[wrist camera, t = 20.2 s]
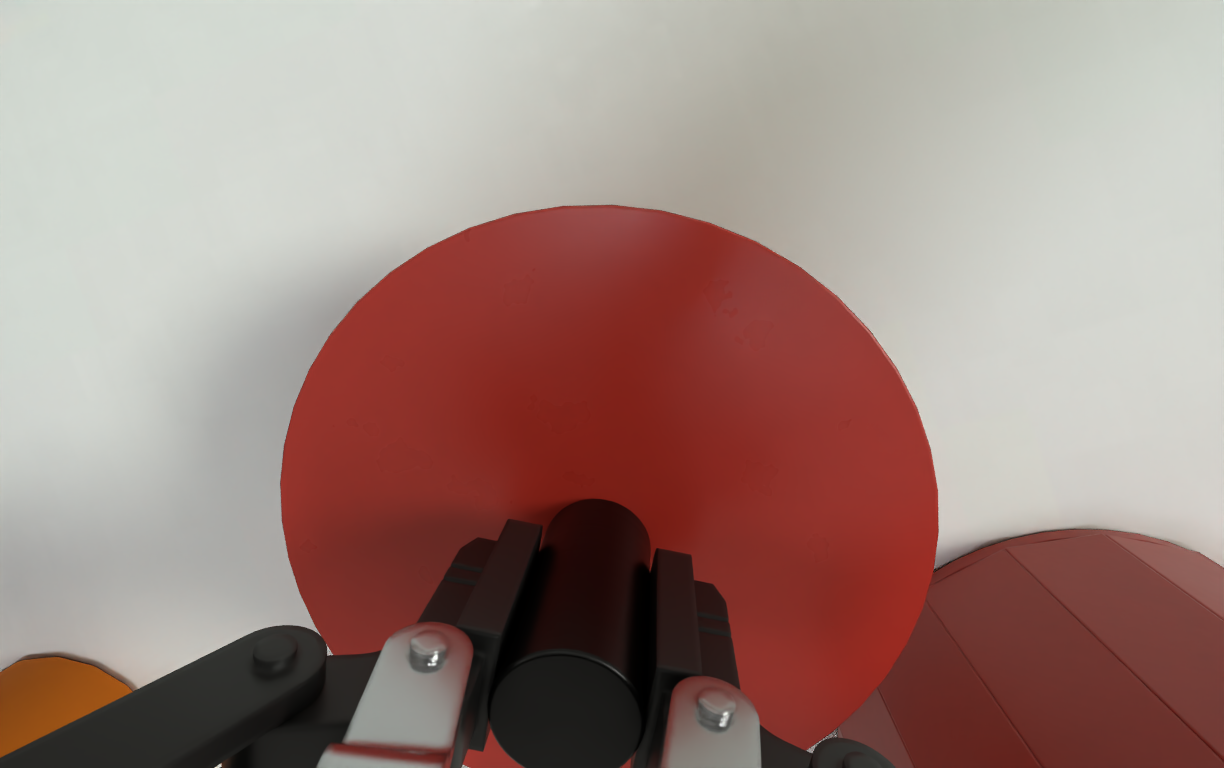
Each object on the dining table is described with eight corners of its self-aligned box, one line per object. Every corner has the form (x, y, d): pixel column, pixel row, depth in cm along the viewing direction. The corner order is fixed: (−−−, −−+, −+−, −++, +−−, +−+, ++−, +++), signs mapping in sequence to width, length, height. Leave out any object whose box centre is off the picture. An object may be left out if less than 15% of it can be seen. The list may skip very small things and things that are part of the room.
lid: (318, 147, 13) (48, 98, 7) (1014, 275, 13) (1307, 330, 7) (295, 706, 17) (110, 959, 12) (822, 814, 17) (907, 1131, 11)
